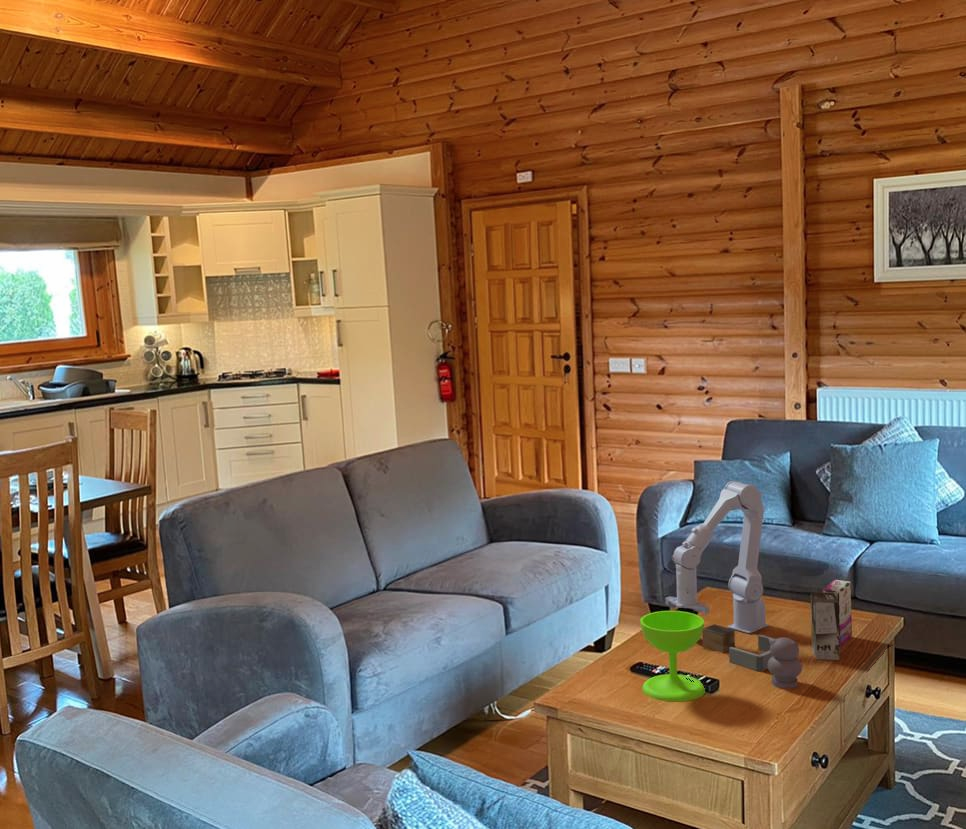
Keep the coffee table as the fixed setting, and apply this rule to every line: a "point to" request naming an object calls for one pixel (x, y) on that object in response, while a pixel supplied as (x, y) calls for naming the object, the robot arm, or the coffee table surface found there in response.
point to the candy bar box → (842, 607)
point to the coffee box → (825, 625)
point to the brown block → (718, 638)
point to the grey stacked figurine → (784, 663)
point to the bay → (752, 655)
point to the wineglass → (672, 653)
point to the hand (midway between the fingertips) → (687, 632)
